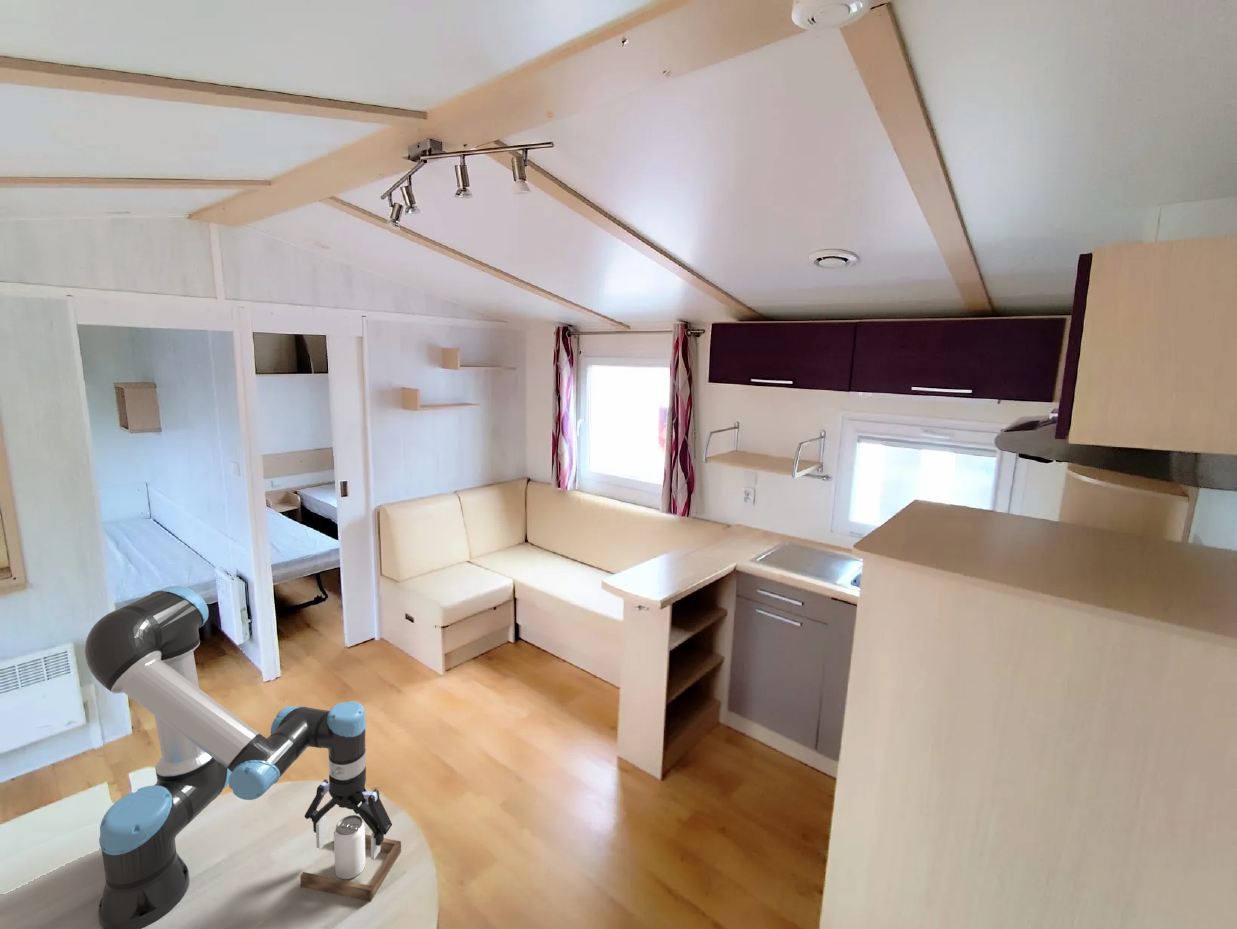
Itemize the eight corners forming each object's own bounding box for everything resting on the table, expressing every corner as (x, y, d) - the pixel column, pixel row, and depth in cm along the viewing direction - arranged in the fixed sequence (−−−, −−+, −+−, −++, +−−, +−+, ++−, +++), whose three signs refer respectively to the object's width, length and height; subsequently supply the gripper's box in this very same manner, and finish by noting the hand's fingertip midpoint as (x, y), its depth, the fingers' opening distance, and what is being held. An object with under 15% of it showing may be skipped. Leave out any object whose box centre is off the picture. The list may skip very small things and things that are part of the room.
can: (353, 883, 130) (352, 839, 128) (328, 876, 131) (327, 832, 129) (371, 859, 136) (370, 816, 134) (347, 853, 138) (346, 810, 135)
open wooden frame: (300, 886, 129) (300, 875, 128) (336, 839, 141) (336, 828, 141) (370, 901, 126) (370, 890, 126) (401, 851, 139) (400, 841, 138)
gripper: (285, 771, 127) (288, 851, 131) (390, 792, 123) (390, 873, 128) (308, 748, 134) (310, 825, 138) (407, 767, 131) (406, 845, 135)
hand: (348, 848), depth 133 cm, fingers open, 13 cm apart
